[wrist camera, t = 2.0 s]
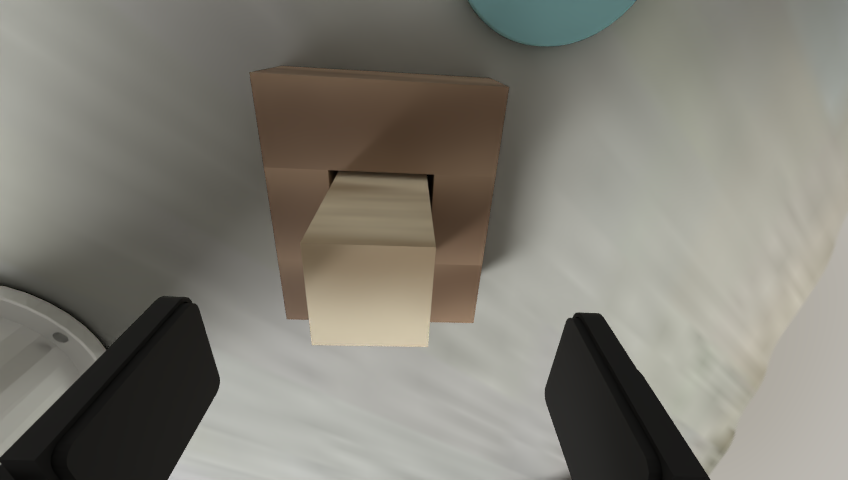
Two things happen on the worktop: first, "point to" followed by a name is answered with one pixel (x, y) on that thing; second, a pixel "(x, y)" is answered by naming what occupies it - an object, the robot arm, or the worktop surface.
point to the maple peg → (371, 261)
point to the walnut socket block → (382, 161)
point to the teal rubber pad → (549, 18)
